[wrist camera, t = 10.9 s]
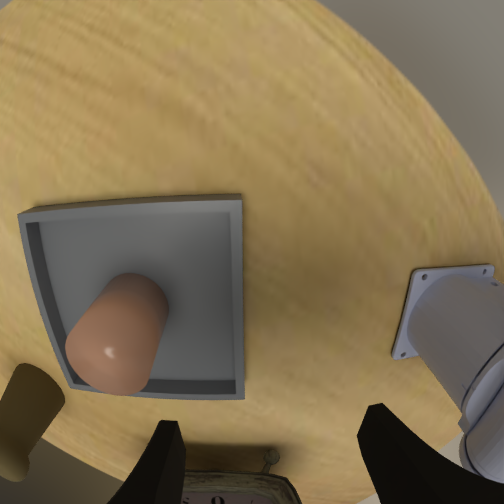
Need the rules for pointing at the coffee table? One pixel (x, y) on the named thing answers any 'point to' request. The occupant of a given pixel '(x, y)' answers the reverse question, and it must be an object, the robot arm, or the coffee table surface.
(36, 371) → the brown pawn figure
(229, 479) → the tabletop clock
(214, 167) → the coffee table surface
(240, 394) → the tray
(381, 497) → the robot arm
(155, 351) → the brown clay cylinder
